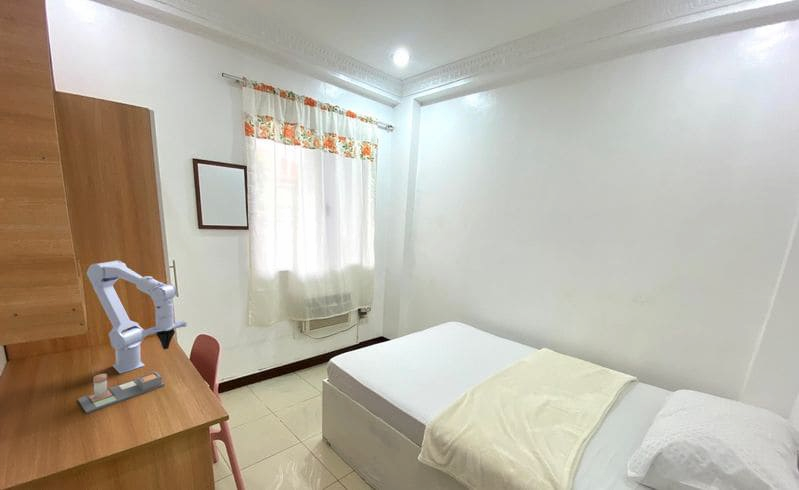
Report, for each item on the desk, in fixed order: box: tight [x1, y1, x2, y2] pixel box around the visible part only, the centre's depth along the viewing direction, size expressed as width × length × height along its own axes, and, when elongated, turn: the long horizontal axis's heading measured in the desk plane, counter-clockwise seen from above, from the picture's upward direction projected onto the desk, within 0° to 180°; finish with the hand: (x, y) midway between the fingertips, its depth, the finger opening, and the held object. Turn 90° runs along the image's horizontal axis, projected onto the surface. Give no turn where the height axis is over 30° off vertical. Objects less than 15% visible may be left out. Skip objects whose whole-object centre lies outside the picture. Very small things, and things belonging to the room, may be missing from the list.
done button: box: [141, 374, 157, 381], centre depth 116 cm, size 4×4×2 cm
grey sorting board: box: [77, 371, 165, 414], centre depth 112 cm, size 11×21×4 cm, turn 145°
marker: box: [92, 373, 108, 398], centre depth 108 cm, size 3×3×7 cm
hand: (165, 348), depth 126 cm, fingers closed
